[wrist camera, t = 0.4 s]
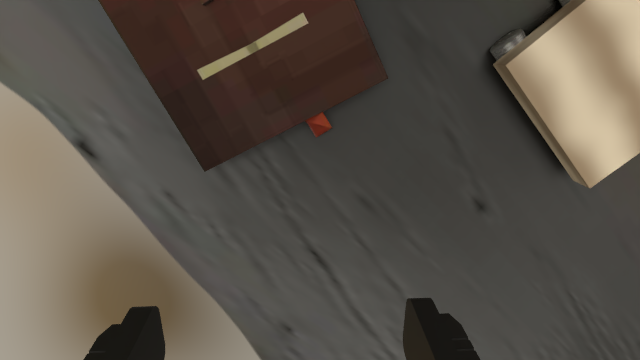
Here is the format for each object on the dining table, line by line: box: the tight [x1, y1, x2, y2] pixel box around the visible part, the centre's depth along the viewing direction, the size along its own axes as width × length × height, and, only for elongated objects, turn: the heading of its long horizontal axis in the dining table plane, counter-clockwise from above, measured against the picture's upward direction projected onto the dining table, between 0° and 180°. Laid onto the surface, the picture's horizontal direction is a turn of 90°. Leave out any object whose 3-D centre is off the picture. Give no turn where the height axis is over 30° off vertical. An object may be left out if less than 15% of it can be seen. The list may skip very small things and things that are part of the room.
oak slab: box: [493, 0, 640, 188], centre depth 34 cm, size 12×14×2 cm
